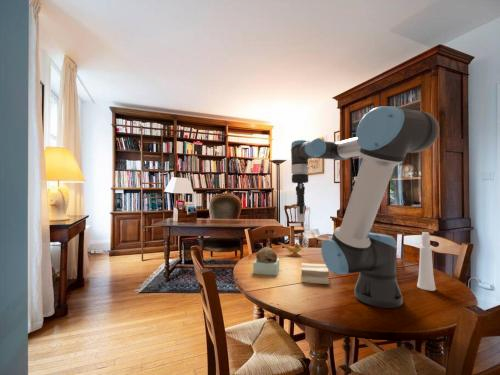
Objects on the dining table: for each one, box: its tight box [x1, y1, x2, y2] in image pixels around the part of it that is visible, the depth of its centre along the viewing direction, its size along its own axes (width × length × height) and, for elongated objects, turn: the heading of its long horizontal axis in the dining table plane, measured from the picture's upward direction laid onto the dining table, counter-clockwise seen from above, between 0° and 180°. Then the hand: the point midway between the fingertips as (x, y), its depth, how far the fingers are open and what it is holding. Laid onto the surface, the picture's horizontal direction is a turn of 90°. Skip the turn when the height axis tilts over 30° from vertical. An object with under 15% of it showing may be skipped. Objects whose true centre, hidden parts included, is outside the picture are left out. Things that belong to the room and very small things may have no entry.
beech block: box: [301, 262, 330, 285], centre depth 107 cm, size 11×11×5 cm
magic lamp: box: [279, 237, 309, 257], centre depth 148 cm, size 7×18×11 cm, turn 71°
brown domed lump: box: [255, 246, 278, 263], centre depth 117 cm, size 10×10×8 cm
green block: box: [252, 257, 280, 276], centre depth 117 cm, size 11×11×5 cm
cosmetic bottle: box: [416, 231, 437, 292], centre depth 97 cm, size 6×6×22 cm
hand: (300, 220), depth 112 cm, fingers open, 13 cm apart
